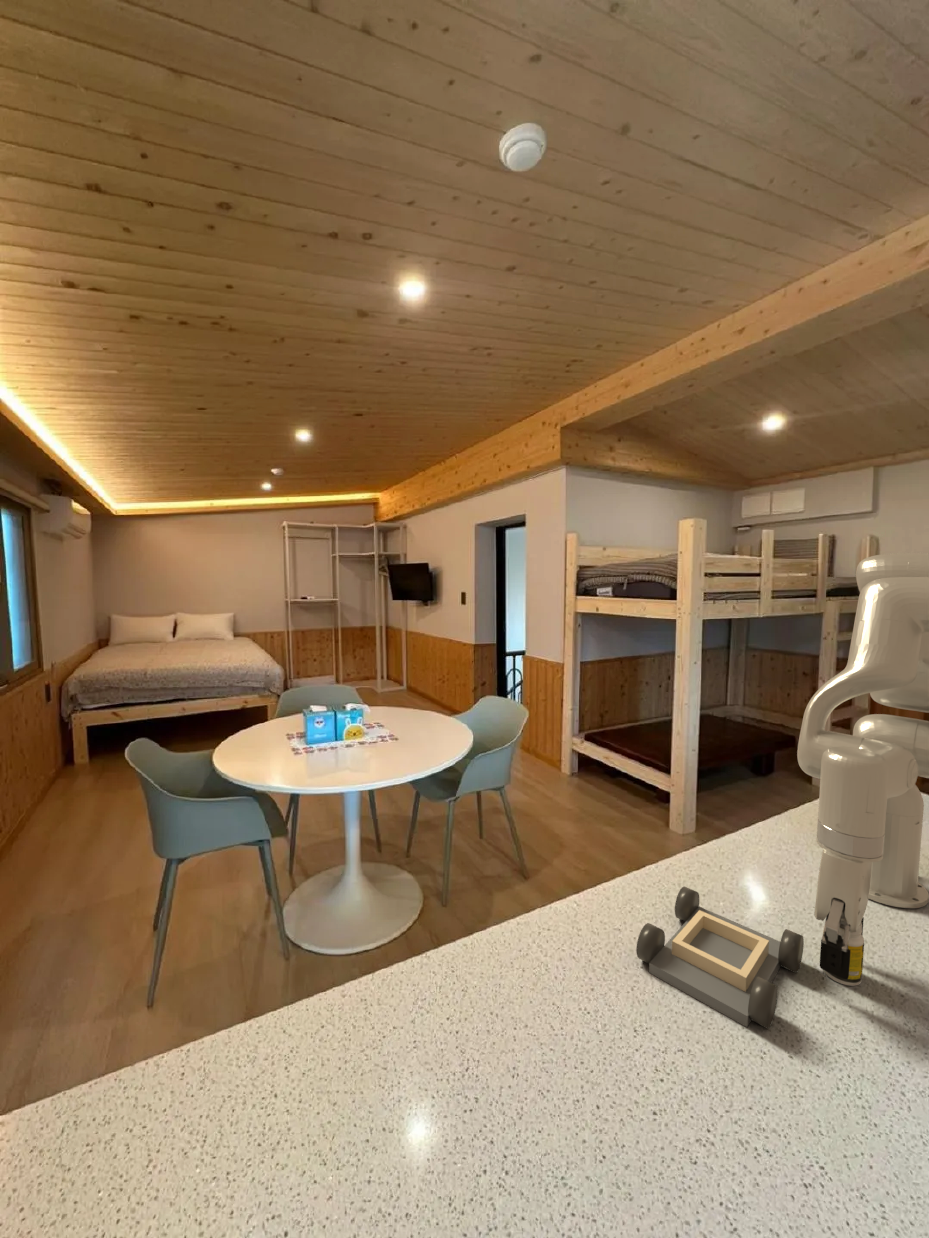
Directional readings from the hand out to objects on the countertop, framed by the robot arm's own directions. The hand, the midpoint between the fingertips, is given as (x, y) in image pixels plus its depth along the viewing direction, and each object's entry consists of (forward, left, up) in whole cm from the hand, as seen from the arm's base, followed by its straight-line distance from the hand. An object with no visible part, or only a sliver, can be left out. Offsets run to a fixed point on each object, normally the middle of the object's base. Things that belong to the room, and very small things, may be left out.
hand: (841, 955), depth 75 cm
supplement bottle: (-1, 0, -3) cm, 3 cm away
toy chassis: (+9, -13, -3) cm, 16 cm away
